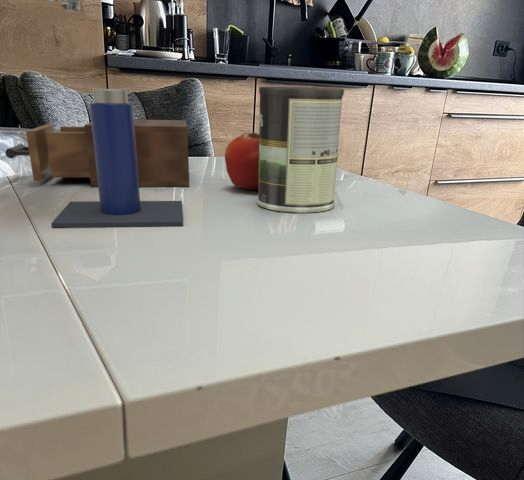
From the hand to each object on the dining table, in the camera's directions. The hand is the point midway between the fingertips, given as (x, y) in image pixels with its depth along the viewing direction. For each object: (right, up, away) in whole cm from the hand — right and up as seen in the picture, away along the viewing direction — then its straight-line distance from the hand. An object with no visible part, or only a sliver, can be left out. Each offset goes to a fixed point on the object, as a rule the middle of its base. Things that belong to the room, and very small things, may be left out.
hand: (60, 6), depth 60 cm
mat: (+5, -21, +5) cm, 23 cm away
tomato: (+21, -13, +23) cm, 34 cm away
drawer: (-8, -9, +28) cm, 30 cm away
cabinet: (+3, -10, +29) cm, 31 cm away
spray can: (+5, -21, +5) cm, 22 cm away
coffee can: (+27, -18, +13) cm, 35 cm away
